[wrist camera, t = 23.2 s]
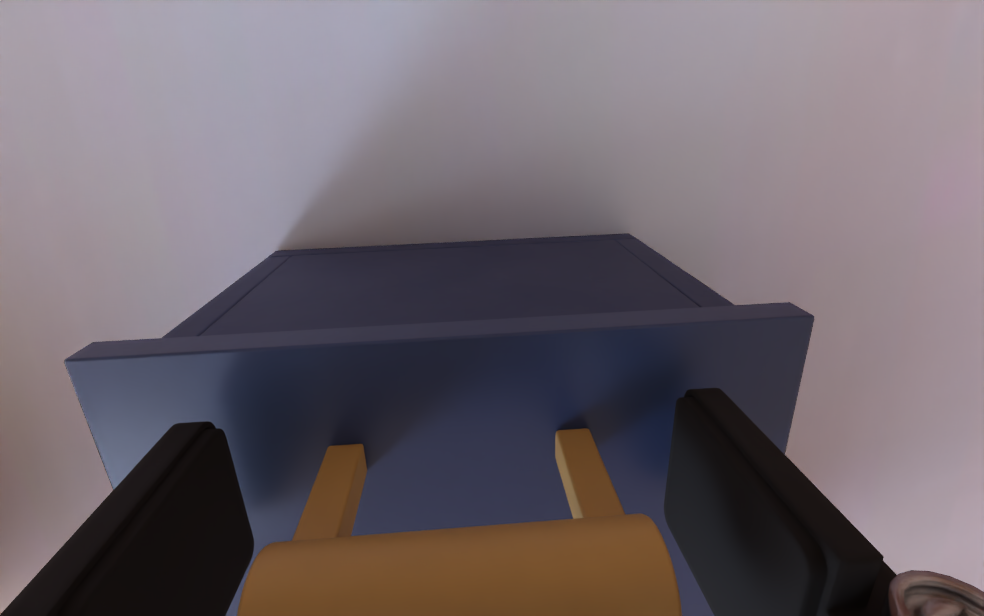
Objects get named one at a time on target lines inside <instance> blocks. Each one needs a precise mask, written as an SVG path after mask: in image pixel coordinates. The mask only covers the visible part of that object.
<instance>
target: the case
mask: <svg viewBox="0 0 984 616" xmlns="http://www.w3.org/2000/svg"><path fill="white" fill-rule="evenodd" d="M717 306H734V304H732V303H731V302H729V301H728V300H726V299H725V298H723V297H722V296H721V295H719V294H718V293H716V292H715V291H713V290H712V289H710V288H709V287H707V286H706V285H704V284H703V283H701V282H700V281H699V280H697V279H696V278H694V277H693V276H691V275H690V274H688V273H687V272H685V271H684V270H682V269H681V268H679V267H678V266H677V265H675V264H674V263H672V262H671V261H669V260H668V259H666V258H665V257H663V256H662V255H660V254H659V253H657V252H656V251H654V250H653V249H652V248H650V247H649V246H647V245H646V244H644V243H643V242H641V241H640V240H638V239H636V238H635V237H634V236H632V235H631V234H610V235H590V236H569V237H549V238H529V239H508V240H488V241H467V242H447V243H427V244H406V245H386V246H366V247H345V248H325V249H304V250H284V251H275V252H274V253H273V254H271V255H270V256H269V257H268V258H266V259H265V260H264V261H262V262H261V263H260V264H258V265H257V266H256V267H254V268H253V269H252V270H250V271H249V272H248V273H246V274H245V275H244V276H243V277H241V278H240V279H239V280H237V281H236V282H235V283H233V284H232V285H231V286H229V287H228V288H227V289H225V290H224V291H223V292H221V293H220V294H219V295H217V296H216V297H215V298H214V299H212V300H211V301H210V302H208V303H207V304H206V305H204V306H203V307H202V308H200V309H199V310H198V311H196V312H195V313H194V314H192V315H191V316H190V317H188V318H187V319H186V320H185V321H183V322H182V323H181V324H179V325H178V326H177V327H175V328H174V329H173V330H171V331H170V332H169V333H167V334H166V335H165V336H163V337H162V338H175V337H193V336H210V335H228V334H245V333H263V332H280V331H298V330H315V329H333V328H350V327H367V326H385V325H402V324H420V323H437V322H455V321H472V320H490V319H507V318H525V317H542V316H560V315H577V314H594V313H612V312H629V311H647V310H664V309H682V308H699V307H717Z"/></svg>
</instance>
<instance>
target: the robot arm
mask: <svg viewBox="0 0 984 616" xmlns="http://www.w3.org/2000/svg"><path fill="white" fill-rule="evenodd" d="M664 515H665V519H666V523H667V525H668V527H669V529H670V531H671V533H672V535H673V537H674V539H675V541H676V543H677V545H678V547H679V549H680V550H681V552H682V554H683V556H684V558H685V560H686V562H687V564H688V566H689V568H690V570H691V572H692V574H693V576H694V577H695V579H696V581H697V583H698V585H699V587H700V589H701V591H702V593H703V595H704V597H705V599H706V601H707V603H708V605H709V606H710V608H711V610H712V612H713V614H714V616H984V592H983V591H981V590H979V589H978V588H976V587H974V586H972V585H970V584H967V583H965V582H963V581H960V580H958V579H955V578H953V577H950V576H947V575H943V574H939V573H935V572H931V571H914V570H911V571H907V572H904V573H900V574H898V575H896V574H895V573H894V572H893V571H892V570H891V569H890V568H889V567H888V565H887V564H886V563H885V562H884V561H883V556H882V555H881V553H880V552H879V551H878V550H877V549H876V548H875V547H874V546H873V545H872V544H871V543H870V542H869V541H868V540H867V539H866V538H865V537H864V536H863V535H862V534H861V533H860V532H859V531H858V530H857V529H856V528H855V527H854V526H853V525H852V524H851V523H850V522H849V520H848V519H847V518H846V517H845V516H844V515H843V514H842V513H841V512H840V511H839V510H838V509H837V508H836V507H835V506H834V505H833V504H832V503H831V502H830V501H829V500H828V499H827V498H826V497H825V496H824V495H823V494H822V493H821V492H820V491H819V490H818V489H817V487H816V486H815V485H814V484H813V483H812V482H811V481H810V480H809V479H808V478H807V477H806V476H805V475H804V474H803V473H802V472H801V471H800V470H799V469H798V468H797V467H796V466H795V465H794V464H793V463H792V462H791V461H790V460H789V459H788V458H787V457H786V456H785V455H784V453H783V452H782V451H781V450H780V449H779V448H778V447H777V446H776V445H775V444H774V443H773V442H772V441H771V440H770V439H769V438H768V437H767V436H766V435H765V434H764V433H763V432H762V431H761V430H760V429H759V428H758V427H757V426H756V425H755V424H754V423H753V422H752V420H751V419H750V418H749V417H748V416H747V415H746V414H745V413H744V412H743V411H742V410H741V409H740V408H739V407H738V406H737V405H736V404H735V403H734V402H733V401H732V400H731V399H730V398H729V397H728V396H727V395H726V394H725V393H724V392H723V391H722V390H721V389H720V388H703V389H689V390H687V391H686V393H685V395H684V397H680V398H678V399H677V401H676V406H675V415H674V423H673V431H672V440H671V448H670V457H669V465H668V474H667V482H666V491H665V499H664ZM253 551H254V538H253V534H252V530H251V526H250V523H249V519H248V515H247V512H246V508H245V504H244V501H243V497H242V493H241V490H240V486H239V482H238V479H237V475H236V471H235V468H234V464H233V460H232V457H231V453H230V449H229V446H228V442H227V438H226V435H225V433H224V431H223V430H222V429H220V428H217V429H216V427H215V426H214V424H213V423H212V422H209V421H204V422H189V423H177V424H174V425H173V426H172V427H170V429H169V430H168V431H167V432H166V433H165V434H164V435H163V436H162V437H161V438H160V440H159V441H158V442H157V443H156V444H155V445H154V446H153V447H152V448H151V449H150V451H149V452H148V453H147V454H146V455H145V456H144V457H143V458H142V459H141V460H140V462H139V463H138V464H137V465H136V466H135V467H134V468H133V469H132V470H131V471H130V473H129V474H128V475H127V476H126V477H125V478H124V479H123V480H122V481H121V482H120V484H119V485H118V486H117V487H116V488H115V489H114V490H113V491H112V492H111V494H110V495H109V496H108V497H107V498H106V499H105V500H104V501H103V502H102V503H101V505H100V506H99V507H98V508H97V509H96V510H95V511H94V512H93V513H92V514H91V516H90V517H89V518H88V519H87V520H86V521H85V522H84V523H83V524H82V525H81V527H80V528H79V529H78V530H77V531H76V532H75V533H74V534H73V535H72V536H71V538H70V539H69V540H68V541H67V542H66V543H65V544H64V545H63V546H62V547H61V549H60V550H59V551H58V552H57V553H56V554H55V555H54V556H53V557H52V558H51V560H50V561H49V562H48V563H47V564H46V565H45V566H44V567H43V568H42V569H41V571H40V572H39V573H38V574H37V575H36V576H35V577H34V578H33V579H32V580H31V582H30V583H29V584H28V585H27V586H26V587H25V588H24V589H23V590H22V591H21V593H20V594H19V595H18V596H17V597H16V598H15V599H14V600H13V601H12V602H11V604H10V605H9V606H8V607H7V608H6V609H5V610H4V611H3V612H2V613H1V615H0V616H226V613H227V611H228V609H229V607H230V605H231V603H232V600H233V598H234V596H235V594H236V592H237V589H238V587H239V585H240V583H241V581H242V579H243V576H244V574H245V572H246V570H247V568H248V565H249V563H250V561H251V558H252V555H253Z"/></svg>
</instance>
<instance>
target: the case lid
mask: <svg viewBox="0 0 984 616" xmlns="http://www.w3.org/2000/svg"><path fill="white" fill-rule="evenodd" d="M813 322H814V316H813V315H812V314H810V313H808V312H806V311H804V310H803V309H801V308H799V307H797V306H795V305H794V304H792V303H790V302H787V303H769V304H752V305H734V306H717V307H699V308H682V309H664V310H647V311H629V312H612V313H594V314H577V315H560V316H542V317H525V318H507V319H490V320H472V321H455V322H437V323H420V324H402V325H385V326H367V327H350V328H333V329H315V330H298V331H280V332H263V333H245V334H228V335H210V336H193V337H175V338H158V339H140V340H123V341H105V342H93V343H91V344H89V345H88V346H86V347H84V348H83V349H81V350H80V351H78V352H76V353H75V354H73V355H71V356H70V357H68V358H67V359H65V360H64V363H65V366H66V369H67V371H68V374H69V376H70V379H71V382H72V384H73V387H74V389H75V392H76V395H77V397H78V400H79V402H80V405H81V407H82V410H83V413H84V415H85V418H86V420H87V423H88V426H89V428H90V431H91V433H92V436H93V439H94V441H95V444H96V446H97V449H98V451H99V454H100V457H101V459H102V462H103V464H104V467H105V470H106V472H107V475H108V477H109V480H110V483H111V485H112V488H113V490H114V489H115V488H116V487H117V486H118V485H119V484H120V482H121V481H122V480H123V479H124V478H125V477H126V476H127V475H128V474H129V473H130V471H131V470H132V469H133V468H134V467H135V466H136V465H137V464H138V463H139V462H140V460H141V459H142V458H143V457H144V456H145V455H146V454H147V453H148V452H149V451H150V449H151V448H152V447H153V446H154V445H155V444H156V443H157V442H158V441H159V440H160V438H161V437H162V436H163V435H164V434H165V433H166V432H167V431H168V430H169V429H170V427H172V426H173V425H174V424H177V423H189V422H204V421H209V422H212V423H213V424H214V426H215V427H216V429H217V428H220V429H222V430H223V431H224V433H225V435H226V438H227V442H228V446H229V449H230V453H231V457H232V460H233V464H234V468H235V471H236V475H237V479H238V482H239V486H240V490H241V493H242V497H243V501H244V504H245V508H246V512H247V515H248V519H249V523H250V526H251V530H252V534H253V538H254V551H253V555H252V558H251V561H250V563H249V565H248V568H247V570H246V572H245V574H244V576H243V579H242V581H241V583H240V585H239V587H238V589H237V592H236V594H235V596H234V598H233V600H232V603H231V605H230V607H229V609H228V611H227V613H226V616H714V614H713V612H712V610H711V608H710V606H709V605H708V603H707V601H706V599H705V597H704V595H703V593H702V591H701V589H700V587H699V585H698V583H697V581H696V579H695V577H694V576H693V574H692V572H691V570H690V568H689V566H688V564H687V562H686V560H685V558H684V556H683V554H682V552H681V550H680V549H679V547H678V545H677V543H676V541H675V539H674V537H673V535H672V533H671V531H670V529H669V527H668V525H667V523H666V519H665V515H664V499H665V491H666V482H667V474H668V465H669V457H670V448H671V440H672V431H673V423H674V415H675V406H676V401H677V399H678V398H680V397H684V395H685V393H686V391H687V390H689V389H703V388H720V389H721V390H722V391H723V392H724V393H725V394H726V395H727V396H728V397H729V398H730V399H731V400H732V401H733V402H734V403H735V404H736V405H737V406H738V407H739V408H740V409H741V410H742V411H743V412H744V413H745V414H746V415H747V416H748V417H749V418H750V419H751V420H752V422H753V423H754V424H755V425H756V426H757V427H758V428H759V429H760V430H761V431H762V432H763V433H764V434H765V435H766V436H767V437H768V438H769V439H770V440H771V441H772V442H773V443H774V444H775V445H776V446H777V447H778V448H779V449H780V450H781V451H782V452H783V453H784V455H785V451H786V446H787V442H788V437H789V433H790V428H791V423H792V419H793V414H794V410H795V405H796V400H797V396H798V391H799V387H800V382H801V377H802V373H803V368H804V364H805V359H806V354H807V350H808V345H809V341H810V336H811V331H812V327H813Z"/></svg>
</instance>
